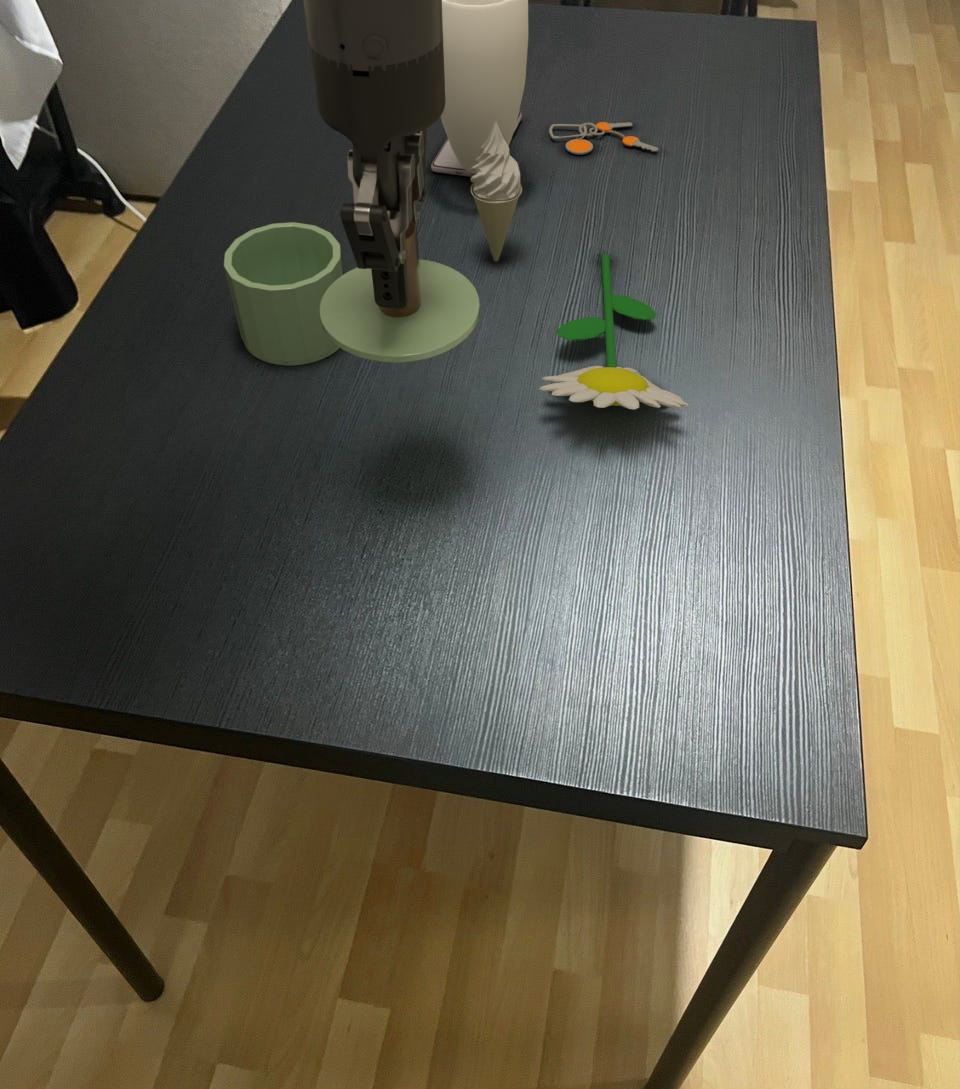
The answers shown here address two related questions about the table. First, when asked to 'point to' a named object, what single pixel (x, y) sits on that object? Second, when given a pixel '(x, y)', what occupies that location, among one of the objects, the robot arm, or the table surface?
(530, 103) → the table surface
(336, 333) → the lid
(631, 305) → the decorative flower
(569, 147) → the key chain
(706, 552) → the table surface
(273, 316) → the tin
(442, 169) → the smartphone
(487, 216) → the ice cream cone
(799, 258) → the table surface
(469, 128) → the cream vase
